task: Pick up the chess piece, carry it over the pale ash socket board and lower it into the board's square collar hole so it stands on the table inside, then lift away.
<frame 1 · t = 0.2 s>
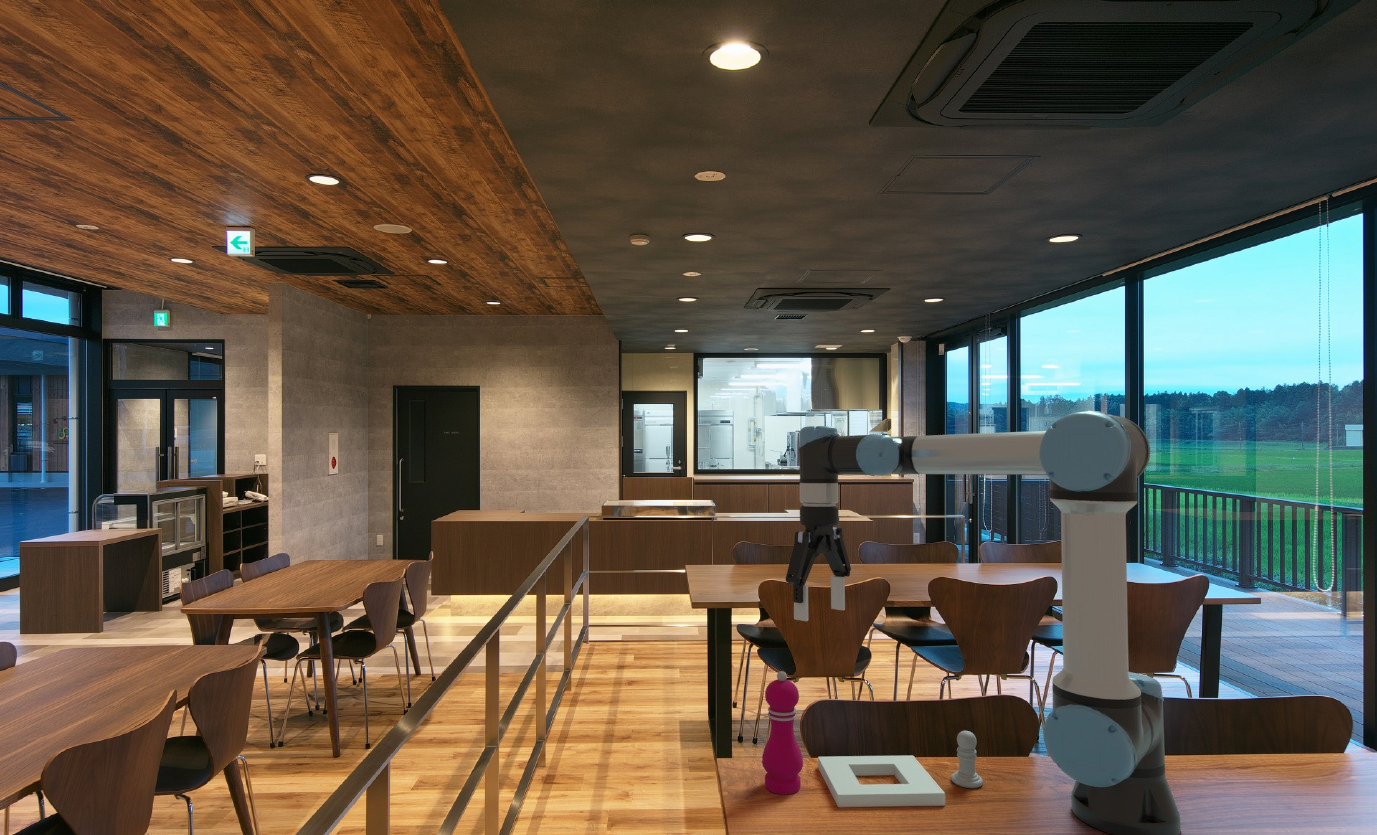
hand: (820, 614, 145), 28 cm above the table, fingers open, 13 cm apart
socket board: (878, 785, 132), on the table
chess piece: (967, 783, 133), on the table
pepper mill: (782, 788, 131), on the table
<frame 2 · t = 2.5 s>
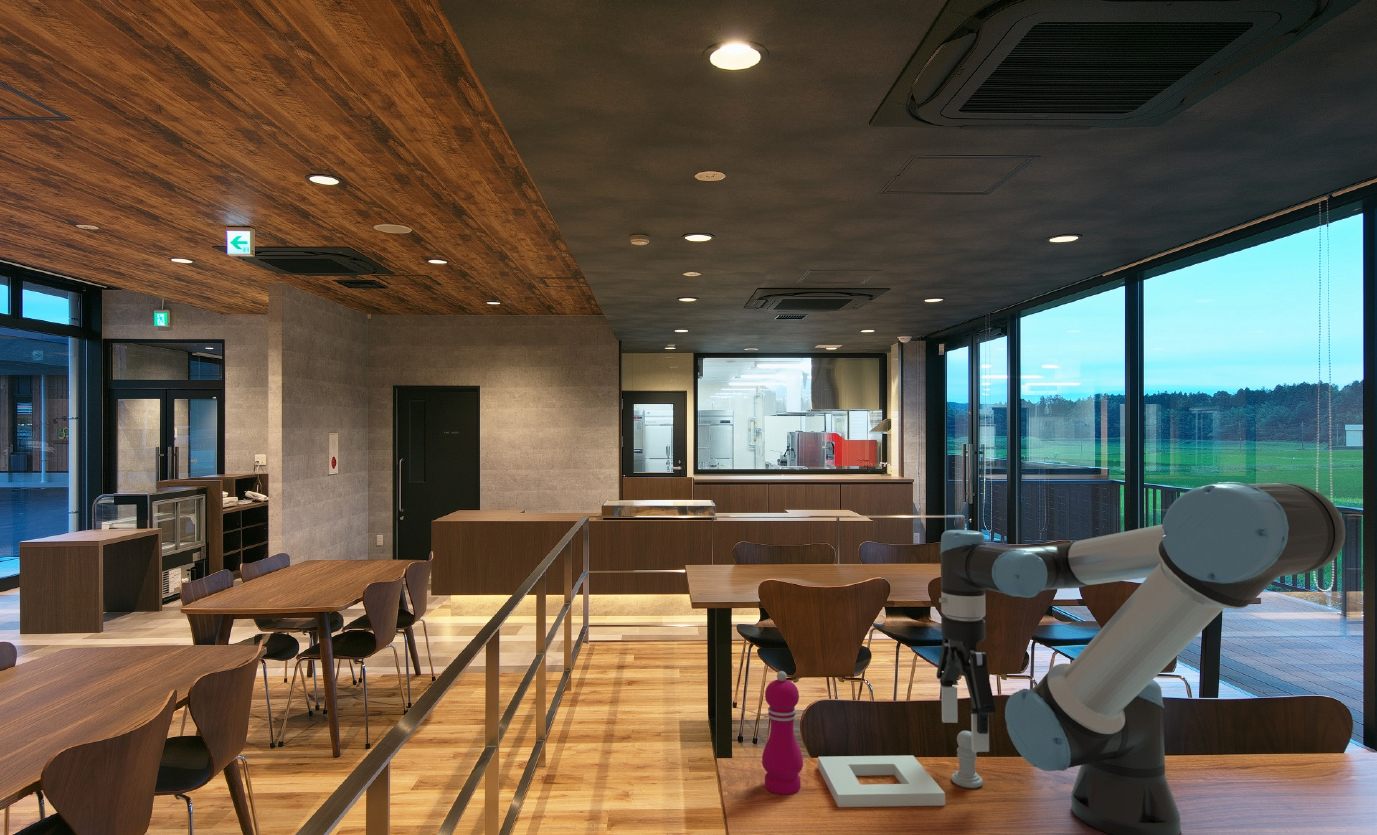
hand: (964, 735, 134), 8 cm above the table, fingers open, 13 cm apart
nothing on the table moved.
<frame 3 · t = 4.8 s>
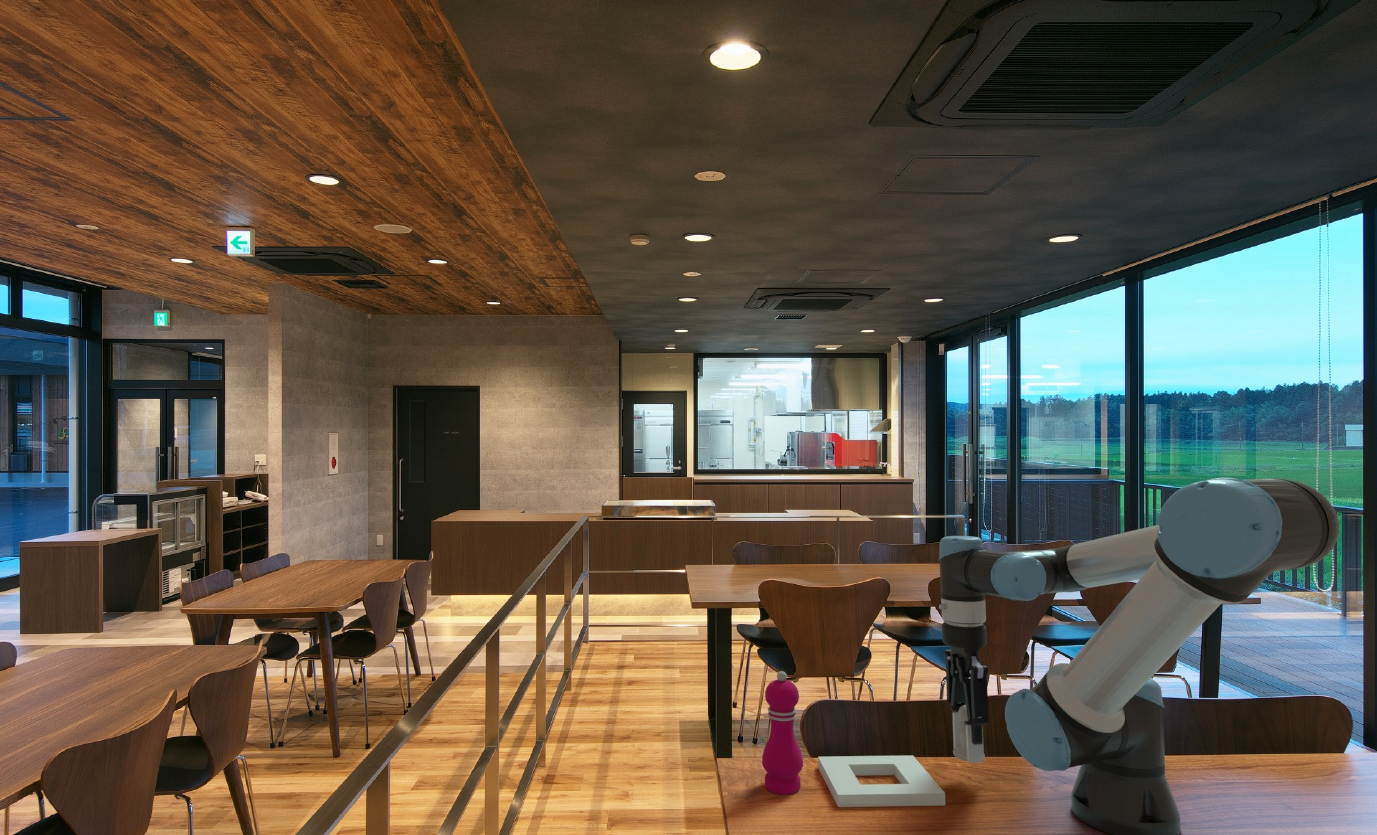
hand: (968, 754, 133), 5 cm above the table, fingers closed on chess piece, 5 cm apart
chess piece: (968, 758, 133), point 4 cm above the table, touching gripper
everything else where it was.
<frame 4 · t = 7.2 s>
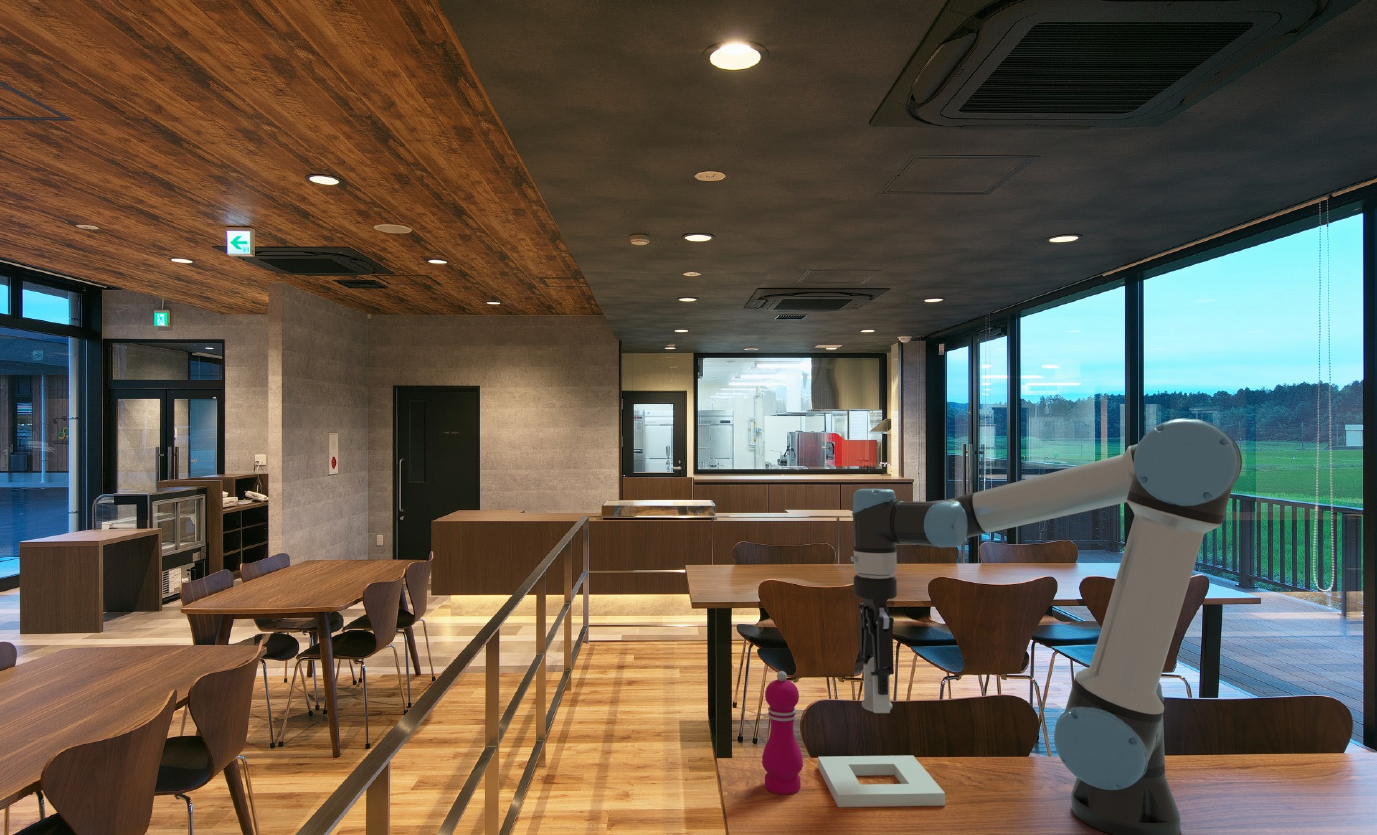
hand: (876, 706, 132), 14 cm above the table, fingers closed on chess piece, 5 cm apart
chess piece: (877, 709, 132), point 13 cm above the table, touching gripper
everything else where it was.
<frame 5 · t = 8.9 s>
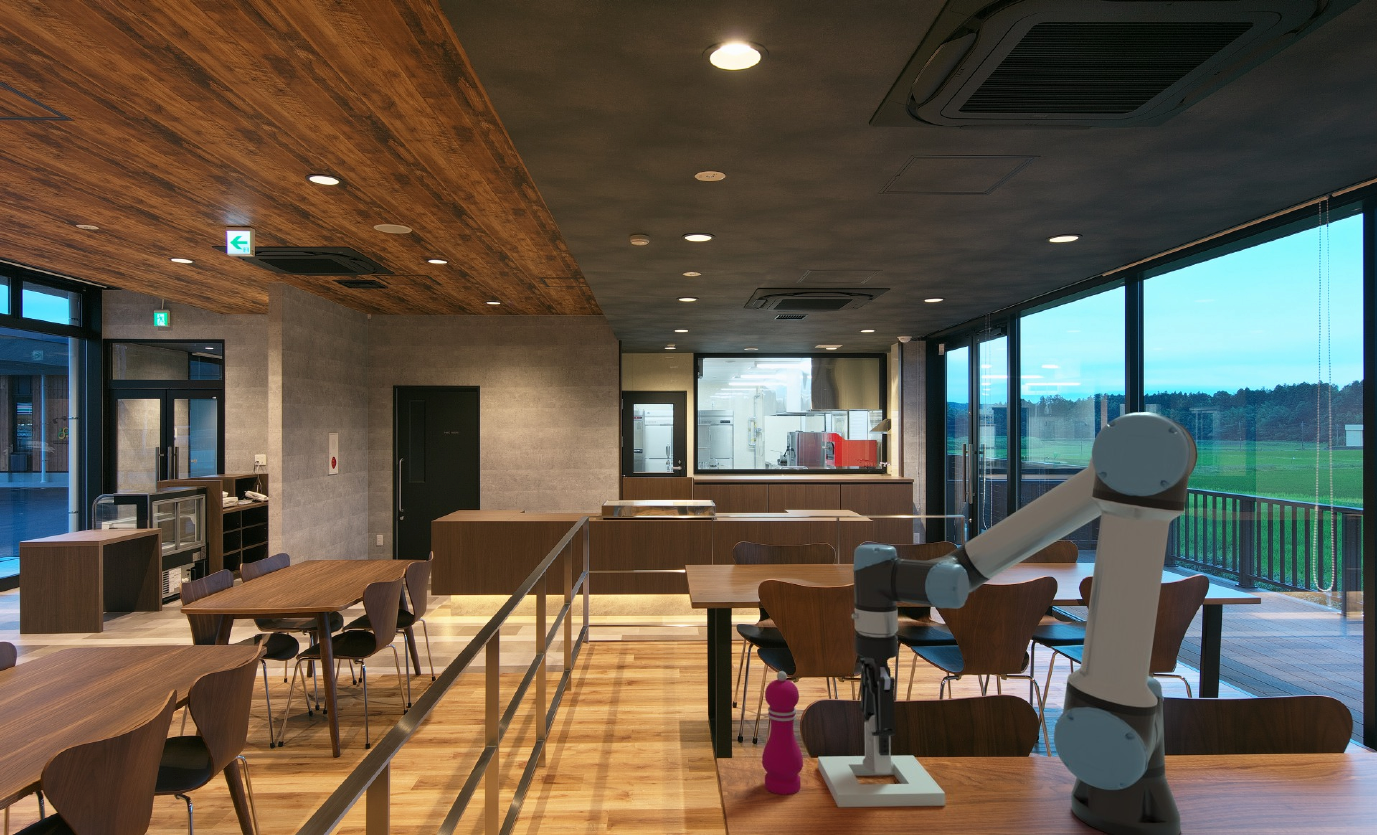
hand: (877, 765, 132), 4 cm above the table, fingers closed on chess piece, 5 cm apart
chess piece: (878, 767, 132), point 3 cm above the table, touching gripper
everything else where it was.
when the fingers open (3 cm above the table, at t = 9.9 s): chess piece drops 3 cm, resting in socket board.
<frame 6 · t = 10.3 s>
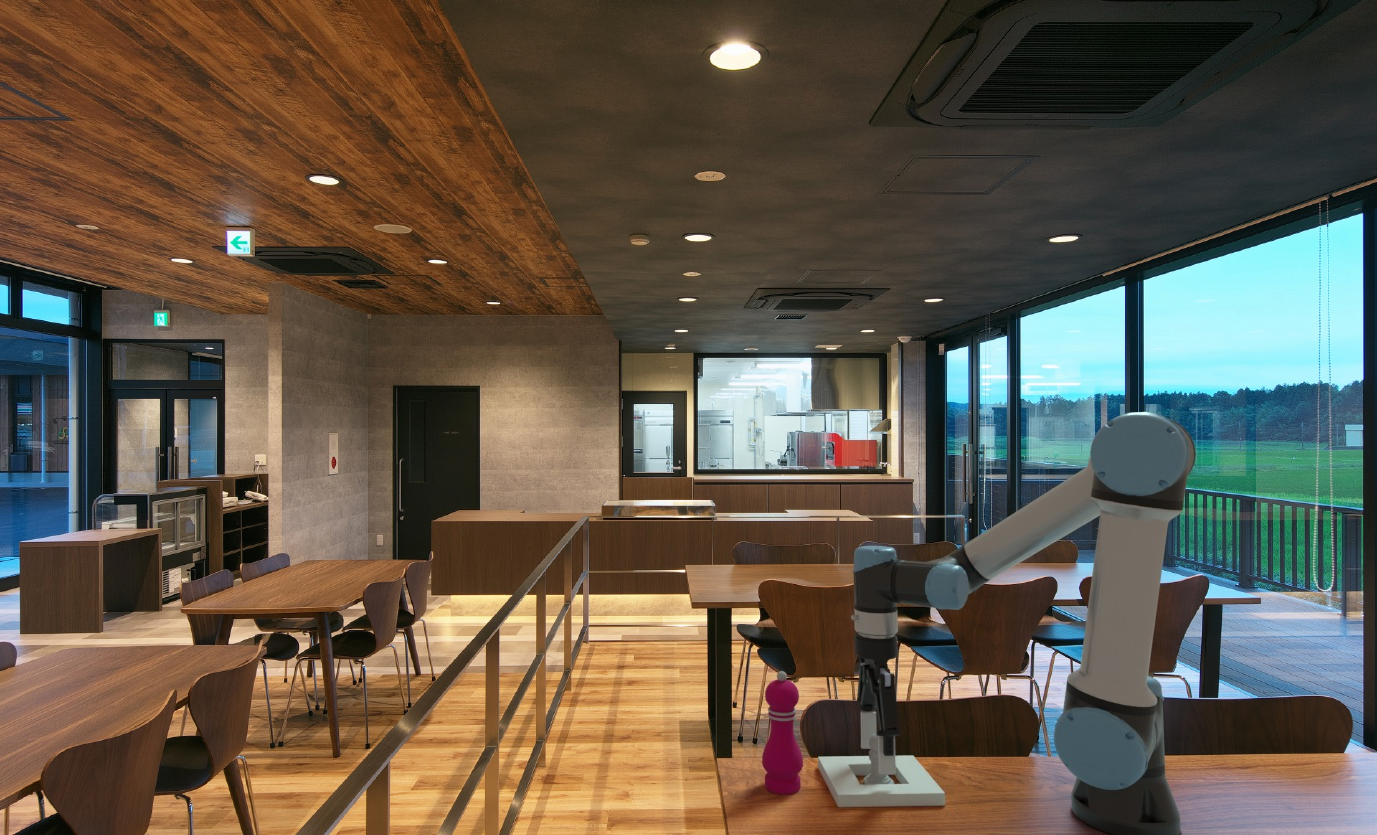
hand: (877, 760, 132), 4 cm above the table, fingers open, 10 cm apart
chess piece: (878, 786, 132), resting in socket board
everything else where it was.
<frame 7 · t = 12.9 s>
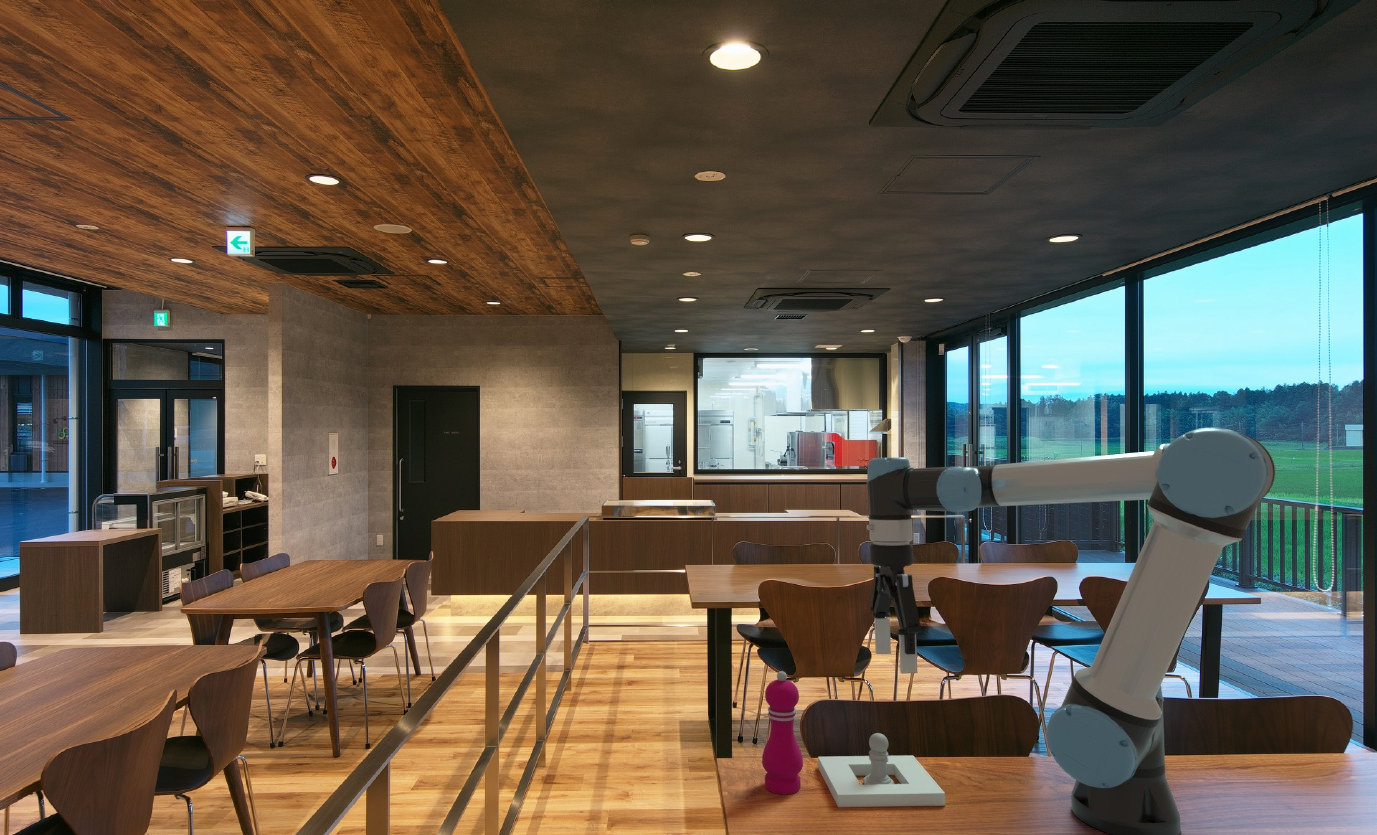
hand: (895, 663, 133), 21 cm above the table, fingers open, 13 cm apart
nothing on the table moved.
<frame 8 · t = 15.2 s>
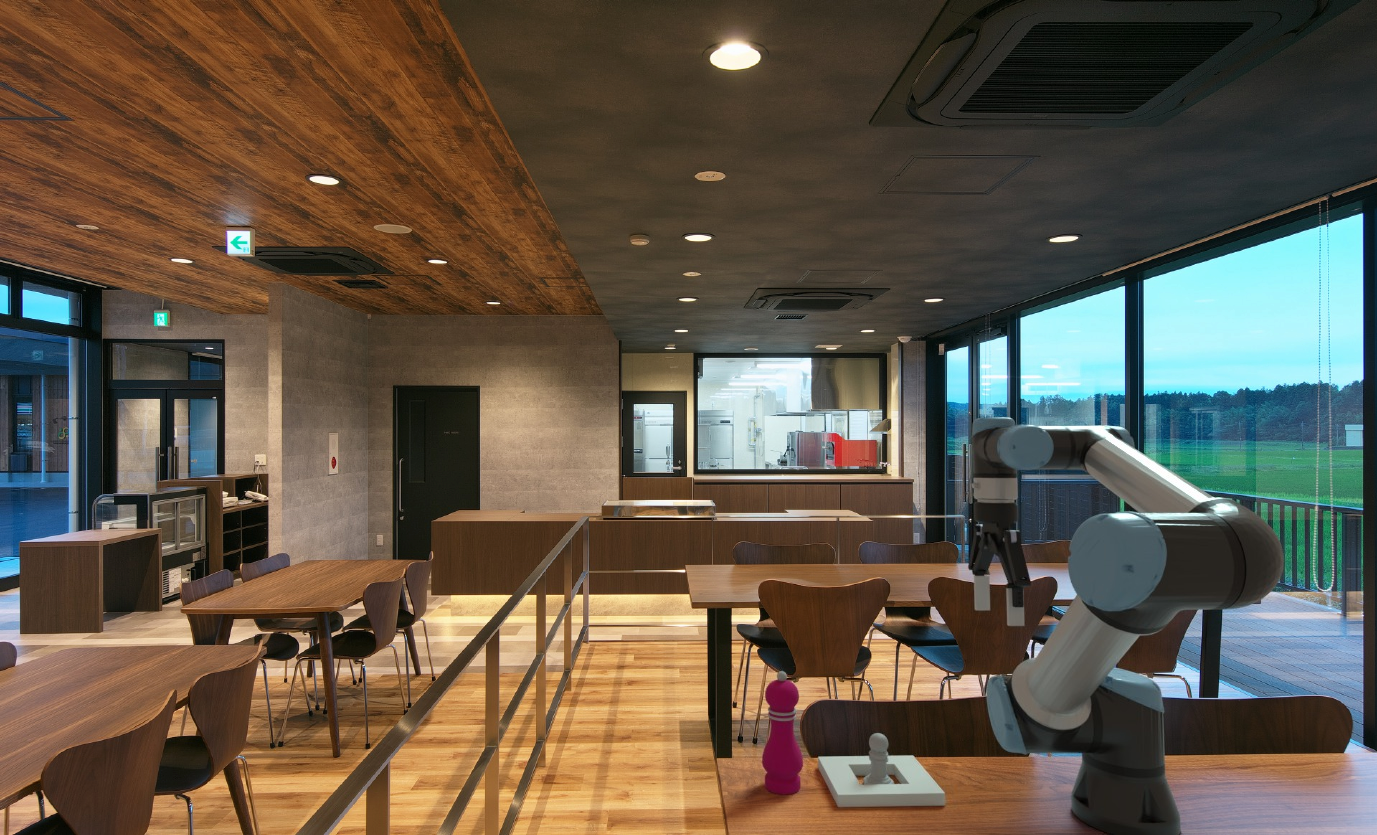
hand: (998, 617, 136), 29 cm above the table, fingers open, 13 cm apart
nothing on the table moved.
at the end: chess piece 0.1 cm from the socket board (horizontally); chess piece resting in socket board; chess piece tilted 0° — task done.
